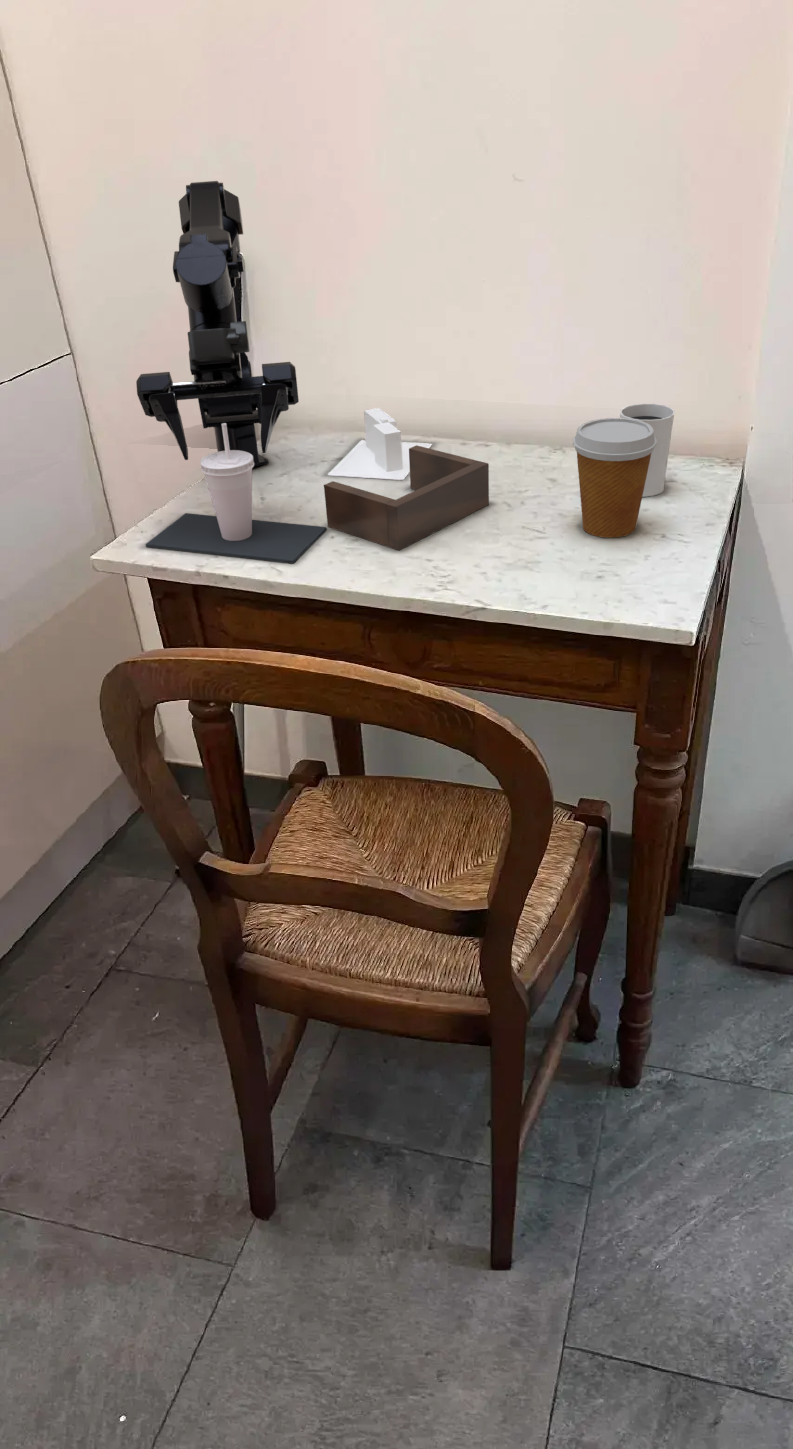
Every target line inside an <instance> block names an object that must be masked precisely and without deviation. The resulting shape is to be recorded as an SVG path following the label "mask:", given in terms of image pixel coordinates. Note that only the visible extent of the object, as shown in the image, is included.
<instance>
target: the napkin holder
mask: <svg viewBox="0 0 793 1449" xmlns="http://www.w3.org/2000/svg"><path fill="white" fill-rule="evenodd" d="M363 418H364V420H363V421H364V433H365V434H364V436H365V439H361V440H360V441H358V443H357V444H356V445H355V446H354V447H353V448H352V449H351V450H350V451H349V452H348V453H347V454H346V455H345V456H344V457H343V458H342V459H341V460H340V461H339V462H338V463H337V464H336V465H335V466H334V467H333V468H332V469H331V471H329V472H328V473H327V476H333V477H334V476H335V477H347V478H348V477H349V478H365V479H382V480H394V481H395V480H396V481H397V480H398V481H404V480H405V479H406V478H407V477H408V475H410V464H409V448H412V447H414V446H416V445H417V446H421V447H425V448H429V449H431V447H432V445H433V443H430V442H429V443H428V442H427V443H426V442H411V441H410V442H408V441H402V431H401V430H400V429H398V428H397V427H398V426H397V420H396V419H394V418H393V417H392V416H390V415H389V414H388V413H386V412H385V411H384V410H382V409H381V408H380V407H377V408H371V409H365V410H363Z"/></svg>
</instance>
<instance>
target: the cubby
mask: <svg viewBox="0 0 793 1449" xmlns="http://www.w3.org/2000/svg"><path fill="white" fill-rule="evenodd" d="M409 464H410V472H409V478H410V479H409V483H410V489H412V490H414V491H411V492H409V493H407V494H405V495H403V496H401V497H399V498H397V499H394V498H391V497H388V496H385V495H381V494H379V493H374V492H371V491H368V490H365V489H360V488H357V487H355V486H350V485H348V484H344V483H340V482H337V481H334V480H332V481H330V482H327V483H325V484H323V490H324V502H325V512H326V522H327V528H330V529H334V530H336V531H339V532H342V533H344V534H345V533H346V534H349V535H351V536H355V537H357V538H360V539H364V540H366V541H370V542H373V543H376V544H378V545H381V546H383V547H387V548H391V549H393V550H397V551H401V550H402V549H405V548H406V547H409V546H410V545H412V544H414V543H417V542H419V541H421V540H422V539H424V538H427V537H428V536H430V535H433V534H434V533H436V532H438V531H440V530H442V529H444V528H445V527H448V526H450V525H452V524H453V523H456V522H458V521H461V520H462V519H464V518H465V517H468V516H469V515H471V514H473V513H475V512H478V511H479V510H481V509H483V508H485V507H487V506H489V505H490V469H489V468H490V464H489V463H488V462H484V461H481V460H476V459H473V458H469V457H465V456H461V455H457V454H453V453H449V452H444V451H441V450H437V449H432V448H425V447H421V446H417V445H416V446H414V447H412V448H409Z"/></svg>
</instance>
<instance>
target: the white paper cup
mask: <svg viewBox="0 0 793 1449" xmlns="http://www.w3.org/2000/svg"><path fill="white" fill-rule="evenodd" d="M674 416H675V410H674V409H673V408H671V406H670V407H669V406H666V405H665V404H656V403H638V404H636V403H635V404H630V405H626V406H624V407H623V408H620V412H619V418H627V419H634V420H639V421H642V422H645V423H647V424H649V425H650V426H652V428H653V431H654V436H655V438H656V439H657V443H656V446H655V447H654V450H653V452H652V453H651V457H650V462H649V467H648V472H647V477H646V481H645V486H644V491H643V495H642V498H646V497H655V496H657V495H660V494H661V493H663V492H664V490H665V484H666V483H665V482H666V476H667V475H666V474H667V468H668V462H669V454H670V445H671V439H672V431H673V425H674Z"/></svg>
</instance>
